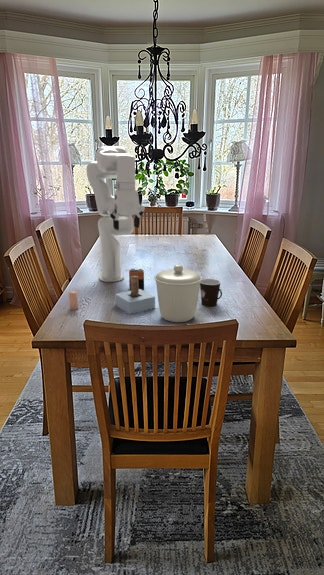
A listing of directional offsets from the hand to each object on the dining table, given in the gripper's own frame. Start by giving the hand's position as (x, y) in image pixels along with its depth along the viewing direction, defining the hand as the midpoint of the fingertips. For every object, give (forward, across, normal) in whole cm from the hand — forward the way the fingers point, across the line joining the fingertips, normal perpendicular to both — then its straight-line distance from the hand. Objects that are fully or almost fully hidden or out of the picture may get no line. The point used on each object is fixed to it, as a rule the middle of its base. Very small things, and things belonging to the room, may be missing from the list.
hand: (126, 228), depth 167 cm
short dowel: (+30, -26, -1) cm, 40 cm away
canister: (+30, +4, -32) cm, 44 cm away
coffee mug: (+30, +23, -29) cm, 48 cm away
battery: (+31, +8, +6) cm, 33 cm away
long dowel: (+30, -4, -13) cm, 33 cm away
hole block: (+30, -4, -13) cm, 33 cm away
